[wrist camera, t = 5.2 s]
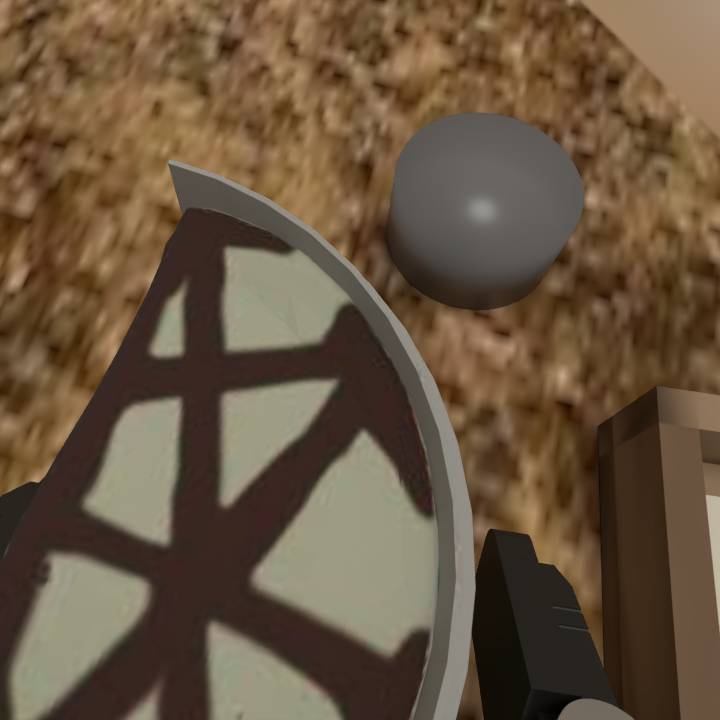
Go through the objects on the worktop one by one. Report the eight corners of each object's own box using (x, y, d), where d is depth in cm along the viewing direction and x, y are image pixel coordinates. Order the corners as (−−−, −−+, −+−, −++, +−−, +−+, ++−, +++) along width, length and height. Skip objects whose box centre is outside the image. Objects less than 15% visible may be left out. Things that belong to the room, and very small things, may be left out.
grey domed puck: (375, 297, 20) (383, 246, 17) (396, 164, 22) (406, 100, 19) (549, 324, 19) (585, 277, 17) (550, 187, 22) (582, 127, 19)
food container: (339, 935, 13) (358, 1765, 4) (81, 850, 13) (-494, 1408, 4) (446, 425, 18) (571, 227, 9) (257, 375, 18) (182, 133, 9)
